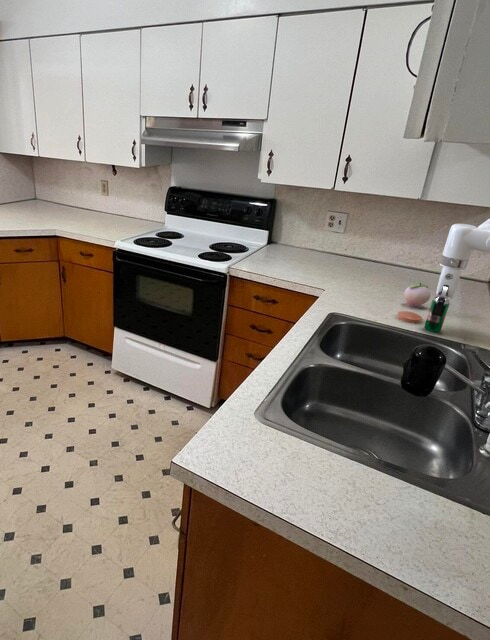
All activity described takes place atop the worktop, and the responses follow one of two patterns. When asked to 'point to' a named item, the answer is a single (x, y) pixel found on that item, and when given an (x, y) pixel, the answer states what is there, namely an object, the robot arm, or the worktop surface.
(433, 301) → the soda can
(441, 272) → the robot arm
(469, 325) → the worktop surface
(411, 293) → the decorative fruit
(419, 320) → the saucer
